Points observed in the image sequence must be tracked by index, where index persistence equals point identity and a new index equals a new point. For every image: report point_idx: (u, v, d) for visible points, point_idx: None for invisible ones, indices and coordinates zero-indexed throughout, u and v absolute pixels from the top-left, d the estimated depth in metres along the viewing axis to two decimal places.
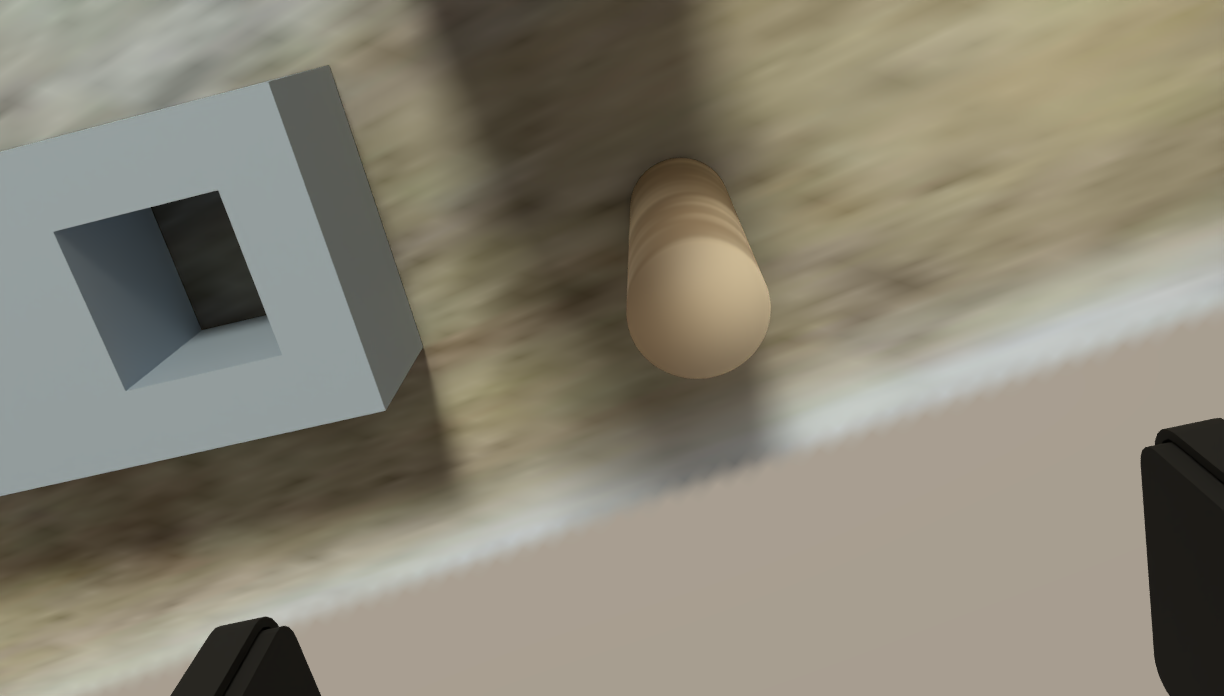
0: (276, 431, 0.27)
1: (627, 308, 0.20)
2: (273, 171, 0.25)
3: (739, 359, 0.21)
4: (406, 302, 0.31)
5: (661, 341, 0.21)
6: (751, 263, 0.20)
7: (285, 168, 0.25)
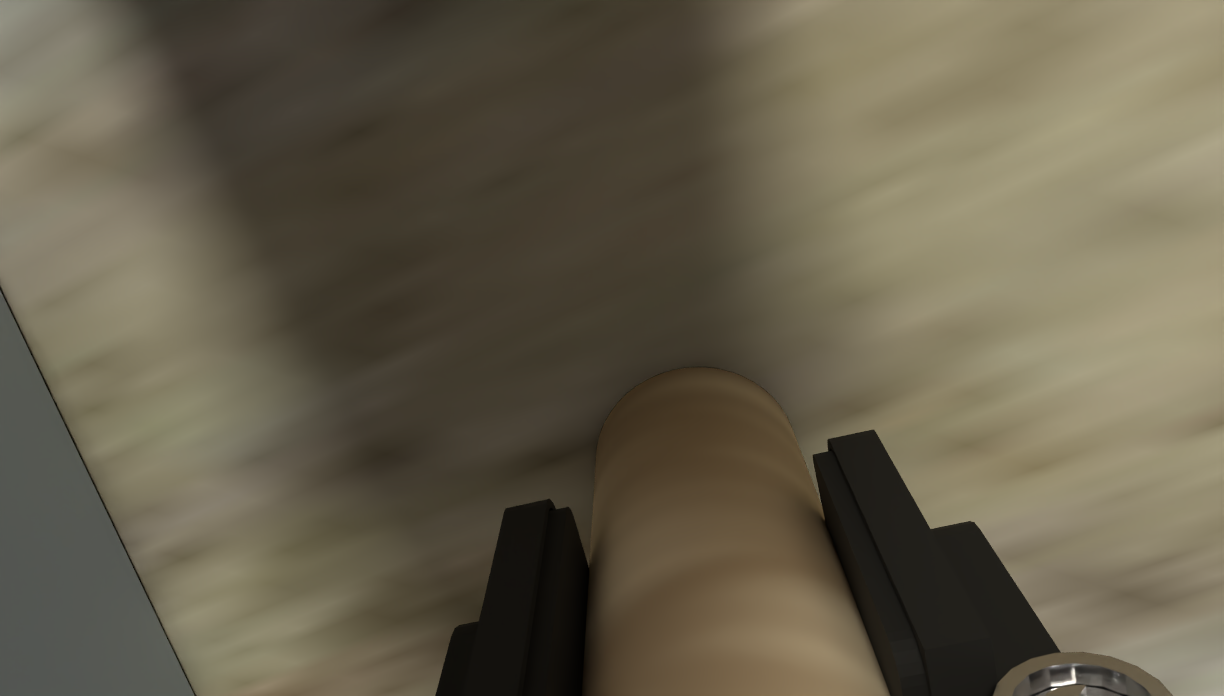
0: None
1: None
2: None
3: None
4: (154, 635, 0.16)
5: None
6: None
7: None
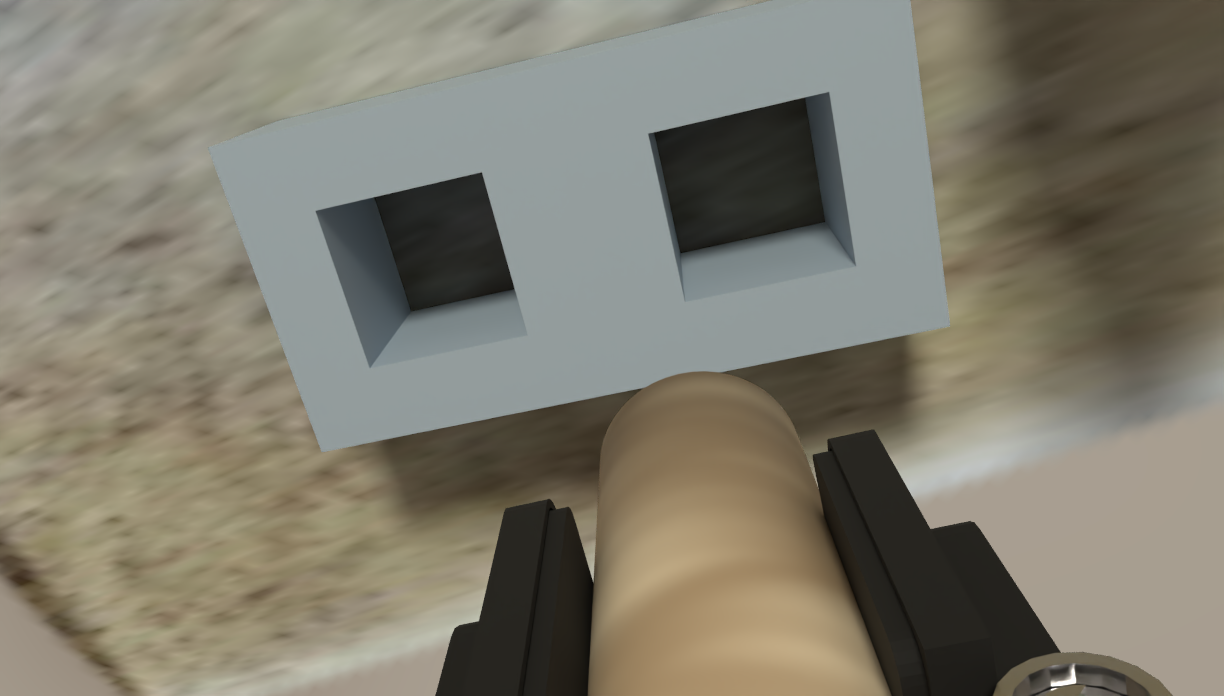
0: (831, 346, 0.27)
1: None
2: (891, 72, 0.24)
3: None
4: None
5: None
6: None
7: (904, 69, 0.24)
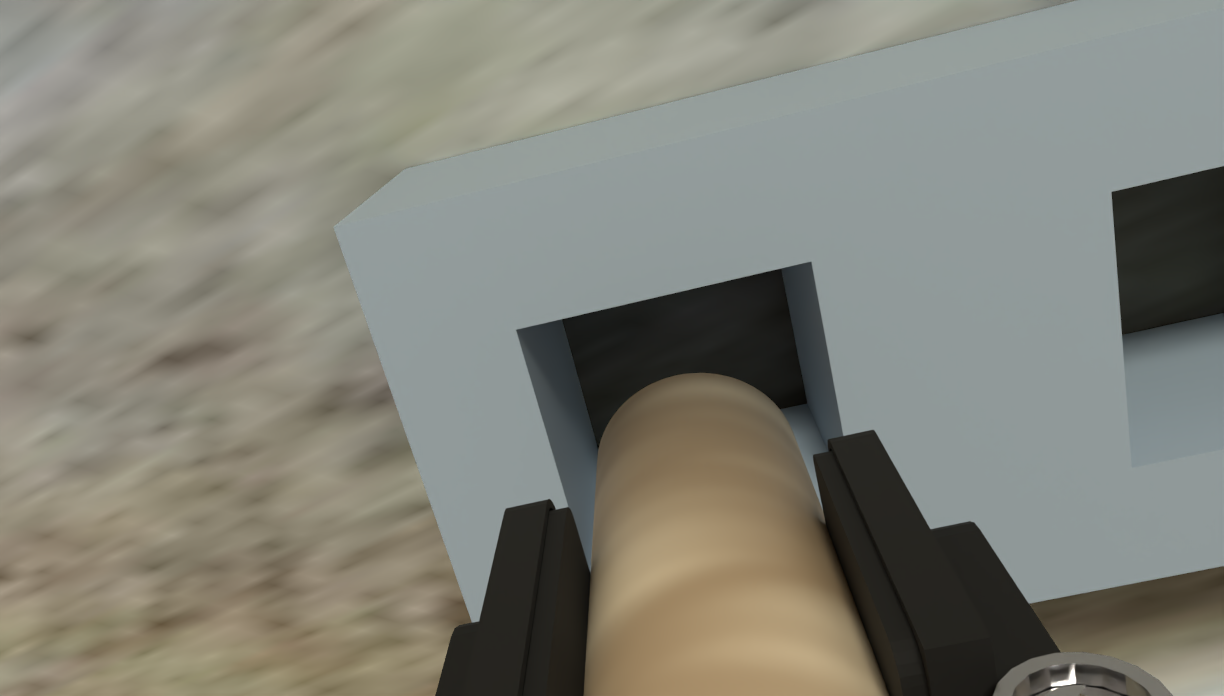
0: None
1: None
2: None
3: None
4: None
5: None
6: None
7: None
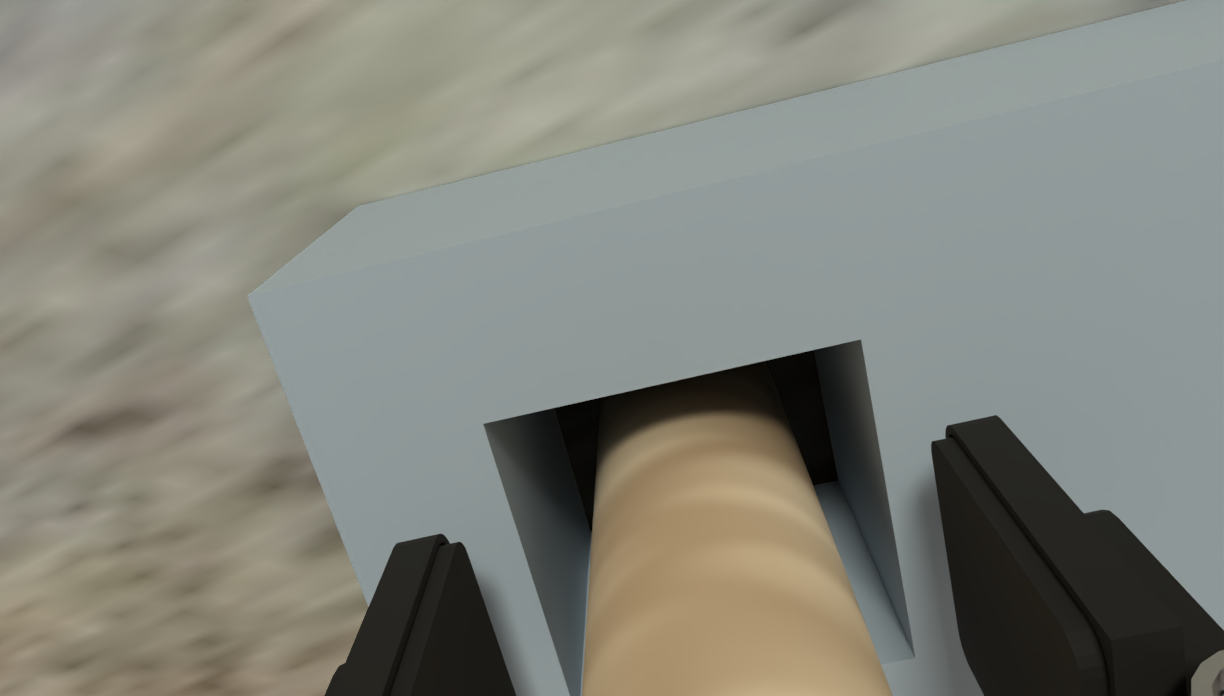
0: None
1: None
2: None
3: None
4: None
5: None
6: None
7: None
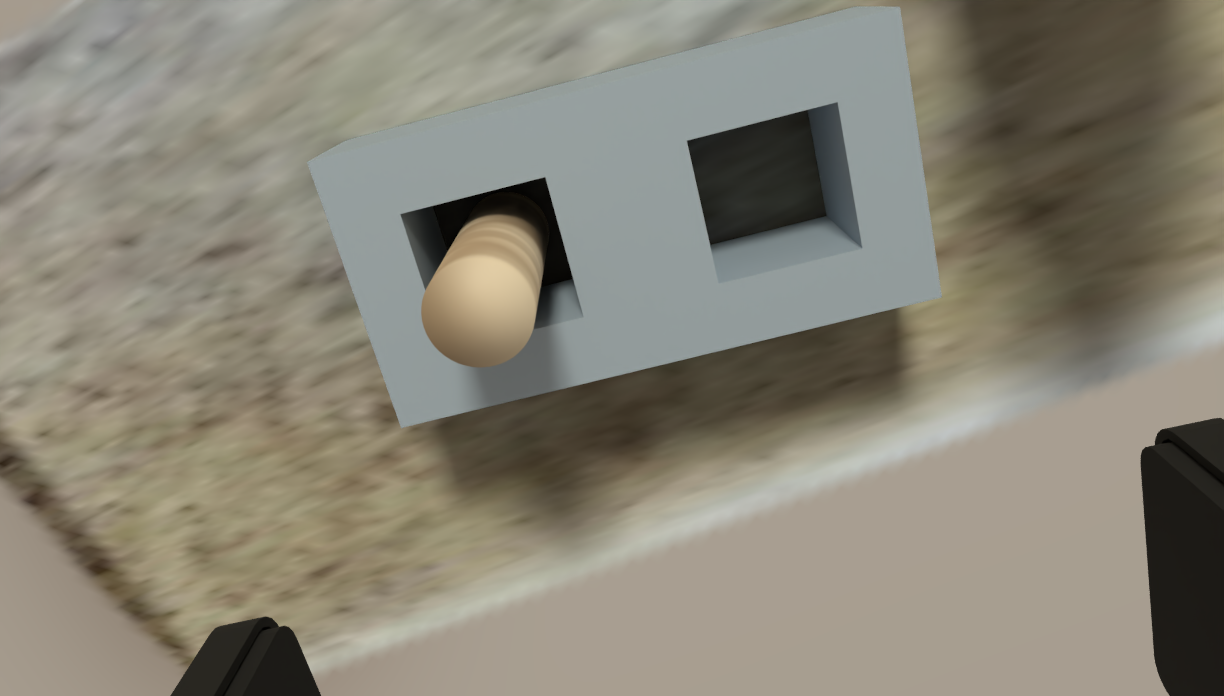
0: (842, 318, 0.31)
1: (422, 312, 0.26)
2: (888, 85, 0.29)
3: (513, 351, 0.26)
4: None
5: (451, 338, 0.26)
6: (516, 274, 0.26)
7: (898, 82, 0.29)
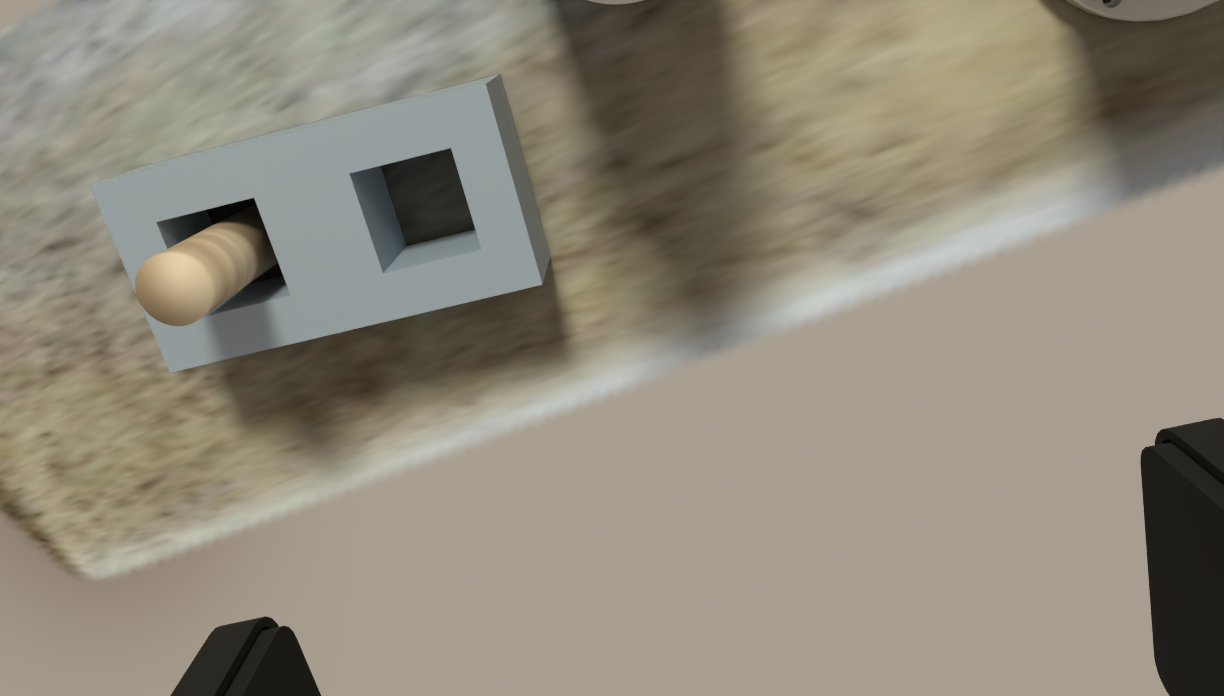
0: (474, 298, 0.44)
1: (136, 289, 0.39)
2: (484, 136, 0.42)
3: (198, 315, 0.39)
4: (541, 226, 0.48)
5: (156, 306, 0.39)
6: (194, 264, 0.39)
7: (491, 134, 0.42)
